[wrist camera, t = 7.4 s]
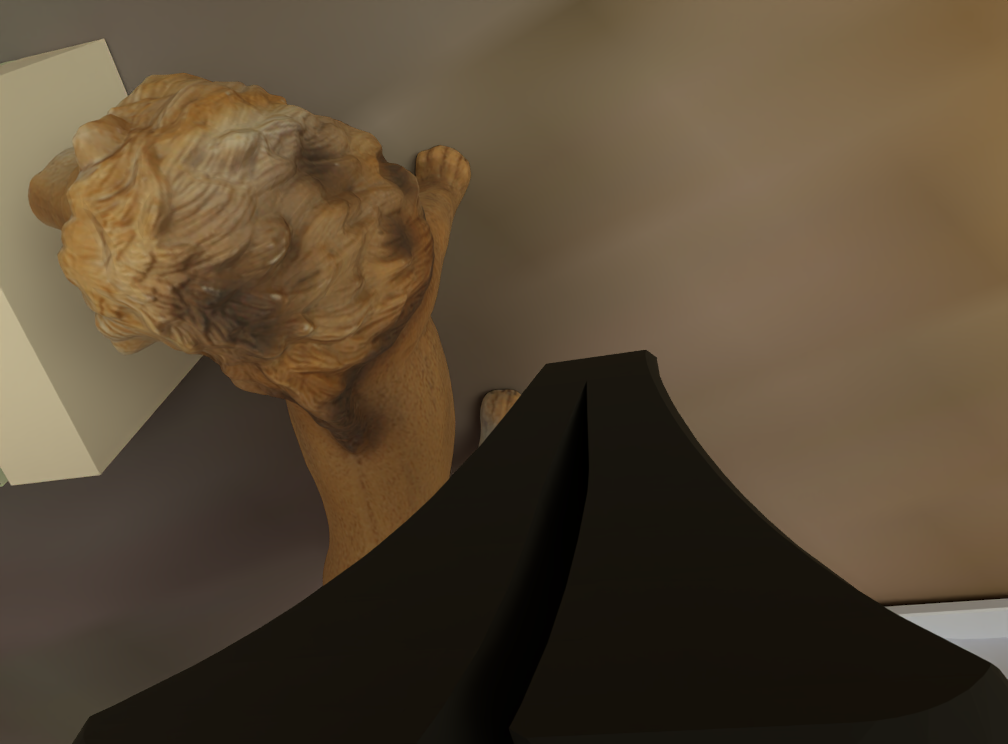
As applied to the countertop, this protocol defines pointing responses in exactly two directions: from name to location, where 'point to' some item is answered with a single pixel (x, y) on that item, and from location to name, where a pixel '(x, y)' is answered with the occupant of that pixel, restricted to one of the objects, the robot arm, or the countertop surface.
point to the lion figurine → (277, 277)
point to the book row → (60, 291)
